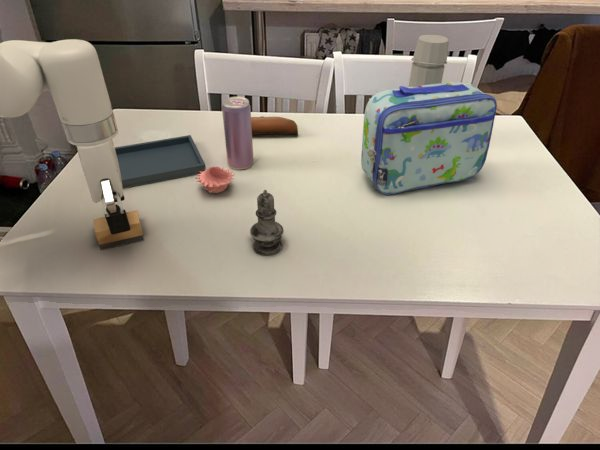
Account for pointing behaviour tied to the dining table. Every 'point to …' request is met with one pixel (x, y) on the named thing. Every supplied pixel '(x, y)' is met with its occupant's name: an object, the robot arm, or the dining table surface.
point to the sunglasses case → (273, 125)
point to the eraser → (119, 239)
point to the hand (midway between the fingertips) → (118, 215)
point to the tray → (158, 161)
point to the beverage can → (238, 132)
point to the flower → (215, 179)
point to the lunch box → (426, 135)
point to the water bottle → (429, 60)
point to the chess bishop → (266, 227)
